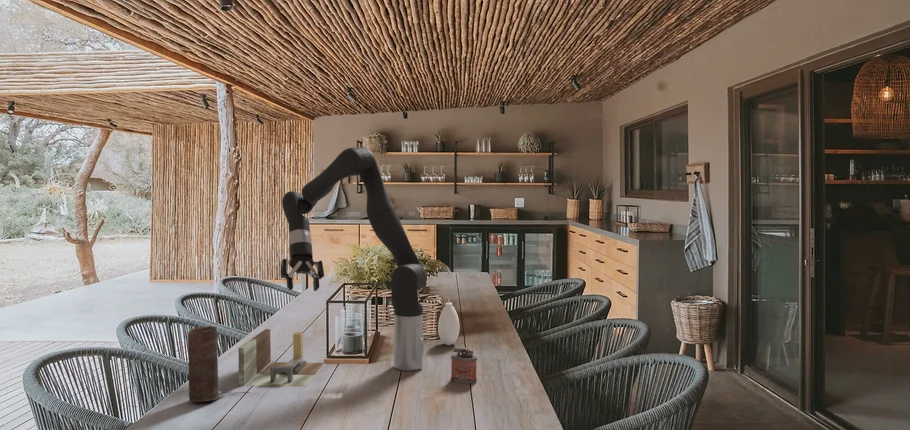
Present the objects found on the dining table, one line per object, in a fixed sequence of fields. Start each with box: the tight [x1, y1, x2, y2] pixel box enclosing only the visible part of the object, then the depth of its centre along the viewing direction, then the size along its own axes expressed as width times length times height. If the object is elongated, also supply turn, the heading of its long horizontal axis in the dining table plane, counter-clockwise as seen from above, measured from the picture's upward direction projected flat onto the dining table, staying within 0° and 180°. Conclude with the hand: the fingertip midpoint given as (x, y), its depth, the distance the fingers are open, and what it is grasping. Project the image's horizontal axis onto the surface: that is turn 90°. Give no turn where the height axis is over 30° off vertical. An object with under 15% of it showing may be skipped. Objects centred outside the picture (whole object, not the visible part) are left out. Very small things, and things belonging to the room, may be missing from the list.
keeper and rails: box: [269, 360, 307, 383], centre depth 177 cm, size 6×17×4 cm, turn 178°
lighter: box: [450, 347, 478, 384], centre depth 174 cm, size 8×3×10 cm, turn 71°
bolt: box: [285, 331, 304, 373], centre depth 181 cm, size 2×11×10 cm, turn 178°
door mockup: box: [238, 328, 325, 387], centre depth 176 cm, size 19×22×12 cm
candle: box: [187, 325, 220, 403], centre depth 156 cm, size 8×7×20 cm
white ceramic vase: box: [437, 297, 461, 346], centre depth 214 cm, size 8×8×18 cm
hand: (303, 289), depth 193 cm, fingers open, 8 cm apart
